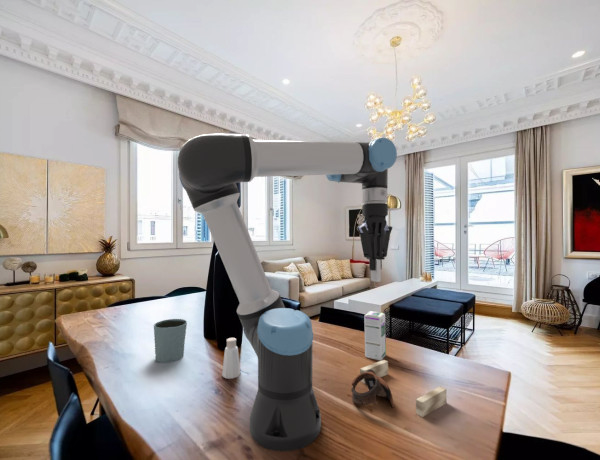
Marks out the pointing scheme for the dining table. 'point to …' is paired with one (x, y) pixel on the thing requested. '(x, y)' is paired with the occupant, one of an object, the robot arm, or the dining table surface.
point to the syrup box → (375, 335)
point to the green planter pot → (169, 340)
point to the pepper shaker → (231, 360)
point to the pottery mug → (371, 389)
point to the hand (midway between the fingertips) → (375, 280)
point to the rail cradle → (424, 402)
